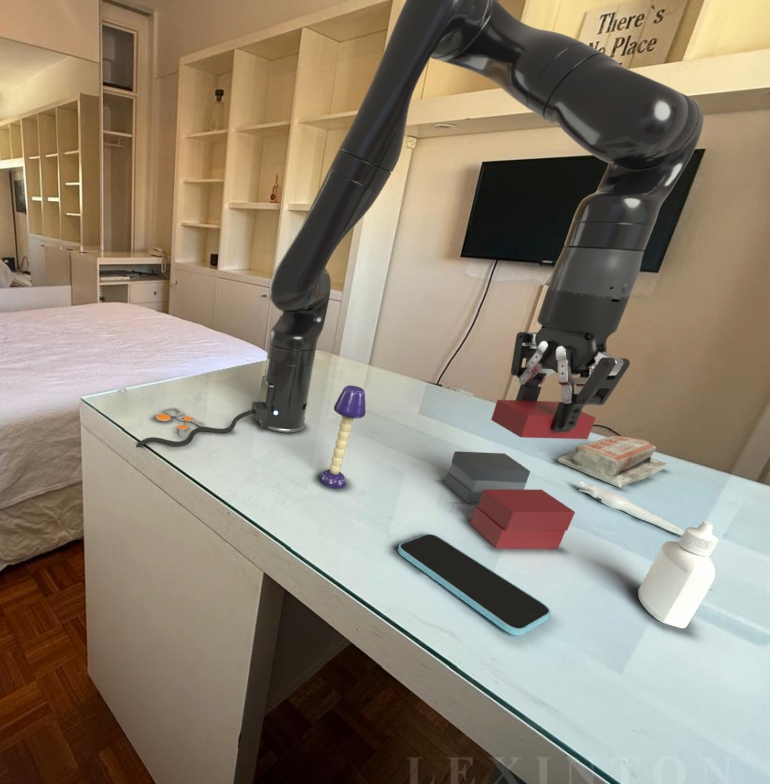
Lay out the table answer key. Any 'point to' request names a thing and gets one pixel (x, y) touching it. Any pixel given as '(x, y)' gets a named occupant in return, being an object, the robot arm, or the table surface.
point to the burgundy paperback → (537, 419)
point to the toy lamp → (344, 432)
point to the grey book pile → (484, 474)
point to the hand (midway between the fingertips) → (540, 420)
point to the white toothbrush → (628, 507)
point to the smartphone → (475, 584)
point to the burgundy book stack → (521, 519)
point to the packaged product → (615, 460)
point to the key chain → (182, 427)
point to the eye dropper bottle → (680, 577)
